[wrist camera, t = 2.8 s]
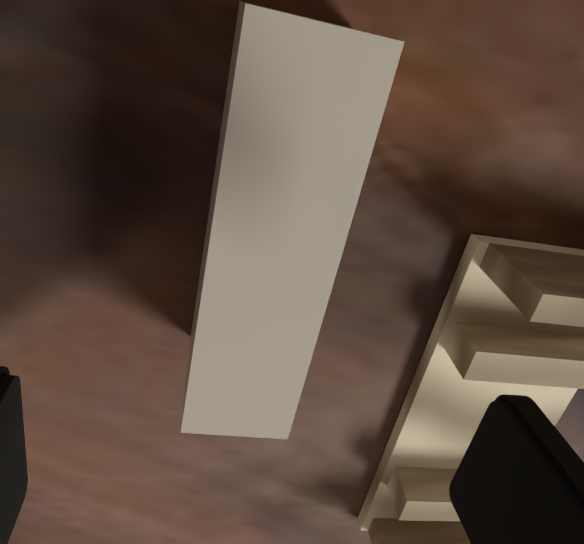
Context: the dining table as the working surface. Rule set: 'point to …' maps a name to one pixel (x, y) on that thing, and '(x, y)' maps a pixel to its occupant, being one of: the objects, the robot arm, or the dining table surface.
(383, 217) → the dining table surface
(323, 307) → the clay bar
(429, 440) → the rack
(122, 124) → the dining table surface
